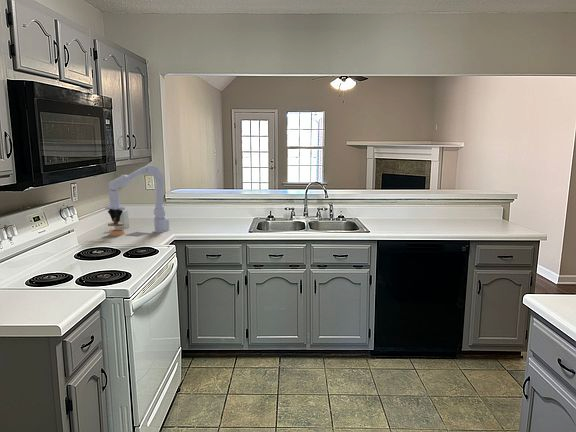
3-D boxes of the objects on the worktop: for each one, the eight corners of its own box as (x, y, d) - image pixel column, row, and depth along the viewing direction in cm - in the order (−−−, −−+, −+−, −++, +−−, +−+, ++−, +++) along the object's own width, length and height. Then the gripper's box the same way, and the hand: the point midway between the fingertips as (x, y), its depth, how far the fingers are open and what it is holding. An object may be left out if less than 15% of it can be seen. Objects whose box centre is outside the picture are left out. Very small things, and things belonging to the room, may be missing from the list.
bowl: (116, 233, 290) (116, 228, 290) (127, 234, 287) (127, 229, 286) (106, 235, 282) (105, 231, 282) (117, 236, 279) (117, 232, 278)
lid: (116, 223, 290) (116, 216, 289) (127, 224, 285) (127, 217, 285) (104, 225, 282) (104, 218, 281) (115, 226, 277) (114, 219, 276)
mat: (136, 232, 292) (136, 231, 291) (149, 233, 287) (149, 233, 287) (124, 235, 282) (124, 235, 282) (137, 237, 277) (137, 236, 277)
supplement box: (129, 227, 309) (128, 209, 307) (124, 229, 302) (123, 211, 300) (119, 227, 310) (118, 209, 308) (114, 229, 303) (112, 211, 301)
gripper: (100, 200, 280) (102, 221, 282) (118, 201, 274) (120, 222, 277) (109, 198, 287) (110, 219, 289) (126, 199, 281) (128, 221, 283)
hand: (115, 221), depth 283 cm, fingers closed on lid, 3 cm apart
